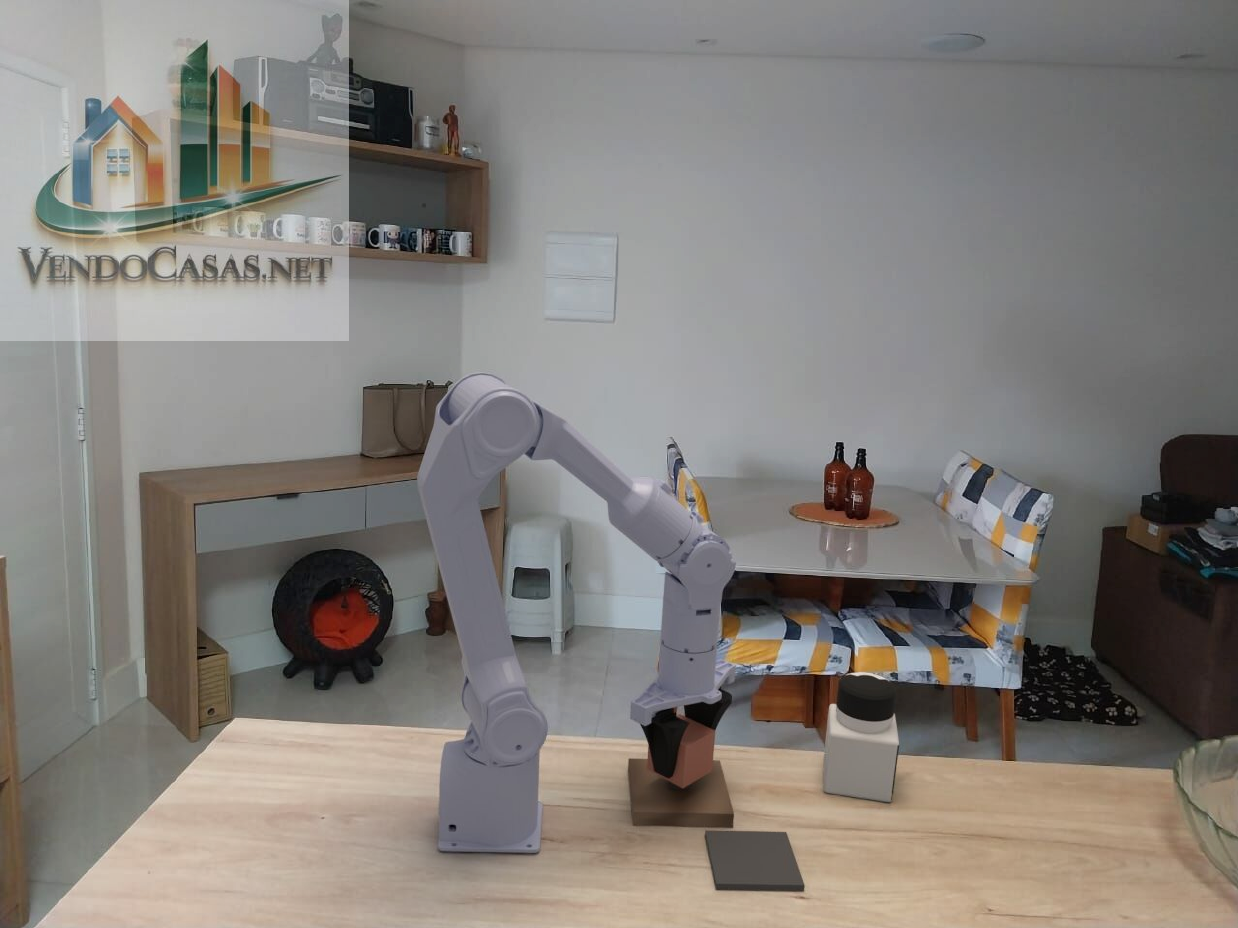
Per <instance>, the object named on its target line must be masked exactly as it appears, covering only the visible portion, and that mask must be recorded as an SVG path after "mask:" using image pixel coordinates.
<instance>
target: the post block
mask: <svg viewBox="0 0 1238 928" xmlns="http://www.w3.org/2000/svg"><path fill="white" fill-rule="evenodd" d="M647 760H648V758H633V757H632V758H631V757H630V758H628V760H627V762H628V764H627V776H628V777H627V778H628V786H629V787H628V788H629V799H630V811H631V820H632V821H631V822H632V826H655V827H656V826H659V827H661V826H662V827H701V828H702V827H703V828H704V827H705V828H707V827H709V828H710V827H711V828H734V821H735V818H734V817H735V811H734V809H733V805H732V800H731V797H730V793H729V790H728V786H727V782H726V778H725V775H724V771H723V768H722V762H721V760H720V759H719V760H717V759H715V760H714V759H713V767H712V771H711V772H710V773H708V774H706V775H705V776H703V777H701V778H700V779H698V780H696V781H695V782H693V783H691V784H689V785H688V786H686V787H684V788H681V787H679V786H677V785H675V784H674V783H672V782H670V781H668V780H666V779H664V778H662V777H660V776H659V775H657V774H655V773H653V772H651V771H649V770H647Z"/></svg>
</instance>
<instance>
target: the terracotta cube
mask: <svg viewBox="0 0 1238 928" xmlns="http://www.w3.org/2000/svg"><path fill="white" fill-rule="evenodd" d="M676 717H678V718H680V719H682V720H685V721H687V722H689V725H688V727H687V728H686V730H685V732H684V734H683V737H682V739H681V742H680V746H679V750H678V756H677V763H676V768H675V771H674V774H673V776H672V777H671V778H666V777H664V776H662V775H660V774H658V773H656V772H655V771H654V768H653V763H652V758H651V753H650V749H649V745H648V744H647V759H648V760H647V770H649V771H651V772H653V773H655V774H657V775H659V776H660V777H662V778H664V779H666V780H668V781H670V782H672V783H674V784H675V785H677V786H679V787H681V788H684V787H686V786H688V785H689V784H691V783H693V782H695V781H696V780H698V779H700V778H701V777H703V776H705V775H706V774H708V773H710V772H711V771H712V767H713V760H714V755H715V754H714V751H715V739H716V730H713V729H711V728H709V727H706V726H704V725H702V724H700V723H698V722H696V721H694V720H691V719H689V718H687V717H685V715H684V714H683V715H682V714H680V713H678V714H676Z"/></svg>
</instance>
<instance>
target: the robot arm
mask: <svg viewBox="0 0 1238 928" xmlns="http://www.w3.org/2000/svg"><path fill="white" fill-rule="evenodd" d="M429 435H430V436H429V439H428V442H427V445H426V449H425V451H424V454H423V456H422V457H423V458H422V459H421V460H422V461H421V462H420V463H421V464H420V467H419V469H418V473H417V476H416V477H417V478H416V479H417V480H416V481H417V482H416V484H417V489H418V492H419V493H418V494H419V496H420V497H419V498H420V501H421V504H422V509H423V512H424V516H425V519H426V523H427V527H428V531H429V536H430V539H431V543H432V546H433V550H434V553H435V558H436V561H437V565H438V569H439V572H440V576H441V581H442V585H443V588H444V592H445V595H446V599H447V602H448V606H449V610H450V614H451V618H452V621H453V625H454V629H455V633H456V637H457V640H458V645H459V647H460V652H461V655H462V658H461V661H460V662H461V667H462V669H463V670H462V671H463V681H462V685H461V690H460V701H461V705H462V707H463V709H464V711H465V712H466V713H467V715H468V717H469V719H470V724H469V726H468V728H467V731H466V732H465V735H464V738H463V739H462V738H461V739H459V740H453V741H452V740H451V741H446V742H445V743H444V745H443V749H442V752H441V753H442V754H441V761H440V770H439V771H440V772H439V788H438V789H439V791H438V795H439V796H438V798H439V799H438V801H439V802H438V811H437V813H438V844H437V849H438V850H439V851H441V852H469V853H470V852H472V853H473V852H475V853H476V852H477V853H479V852H480V853H521V854H522V853H526V854H527V853H528V854H529V853H530V854H531V853H532V854H533V853H534V854H535V853H538V852H539V851H540V850H541V836H542V825H543V824H542V821H543V810H544V809H543V804H544V803H543V802H542V801H540V800H539V787H540V786H539V785H540V783H539V781H540V756H541V755H540V754H541V752H540V751H541V748H542V747H543V746H544V744H545V741H546V739H547V736H548V732H549V731H548V730H549V727H548V726H549V725H548V720H547V716H546V715H545V713H544V711H543V710H542V709H541V707H540V706H539V705H538V704H537V703H536V701H535V700H534V698H533V696H532V695H531V693H530V690H529V687H528V683H527V681H526V678H525V675H524V673H523V671H522V668H521V665H520V662H519V660H518V658H517V654H516V650H515V646H514V641H513V638H512V635H511V629H510V626H509V621H508V617H507V614H506V609H505V605H504V601H503V598H502V594H501V593H502V592H501V590H500V589H501V588H500V585H499V581H498V577H497V573H496V570H495V565H494V562H493V561H494V560H493V556H492V553H491V549H490V545H489V540H488V535H487V532H486V528H485V525H484V524H485V523H484V521H483V516H482V512H481V508H480V503H479V497H480V495H481V493H483V491H484V490H485V488H486V487H487V486H488V484H489V483H490V482H491V480H492V479H493V478H494V477H495V476H496V475H498V474H499V473H500V472H501V471H503V470H505V469H506V468H507V467H508V466H510V465H511V464H513V463H514V462H515V461H517V460H518V459H520V458H521V457H522V456H523V455H525V456H526V457H527V458H528V459H530V460H531V461H546V460H553V461H555V462H556V463H557V464H558V465H560V466H561V467H562V468H564V469H565V470H566V471H567V472H569V474H571V475H572V476H574V477H575V478H576V479H577V480H579V481H581V482H582V484H584V485H585V486H586V487H588V488H589V489H590V490H592V491H593V492H594V493H595V494H597V495H598V496H599V497H600V498H602V499H603V500H605V502H606V504H607V517H608V520H609V524H611V525H612V526H613V527H614V528H616V529H617V531H619V532H620V533H622V535H624V536H625V537H626V538H627V539H629V541H631V542H632V543H634V544H635V545H636V546H637V547H639V549H641V550H642V551H643V552H645V553H646V554H647V555H649V557H650V558H652V559H653V560H654V561H656V562H657V563H658V565H659V566H660V567H661V568H665V570H667V571H666V572H665V573H664V584H663V597H662V611H661V625H660V641H659V654H658V655H659V656H658V657H659V659H658V671H657V672H658V673H657V676H656V677H655V679H653V681H652V682H651V683H650V684H649V685H648V686H647V687H646V688H645V690H644V691H642V693H641V694H640V695H639V696H637V697H636V698H635V699H633V700H631V701H630V712H629V713H630V714H629V719H630V720H632V721H634V722H635V723H637V724H639V725H640V727H641V729H642V731H643V734H644V736H645V739H646V742H647V746H648V745H649V749H650V753H651V758H652V763H653V768H654V771H655V772H656V773H658V774H660V775H662V776H664V777H666V778H671V777H672V776H673V774H674V771H675V768H676V763H677V756H678V750H679V746H680V742H681V739H682V737H683V734H684V732H685V730H686V728H687V727H688V725H689V722H687V721H685V720H682V719H680V718H678V717H676V715H678V714H677V712H674V711H675V708H678V707H683V709H684V716H685V717H687V718H689V719H691V720H694V721H696V722H698V723H700V724H702V725H704V726H706V727H709V728H711V729H713V730H715V731H716V730H717V727H718V726H719V723H720V722H721V720H722V718H723V716H724V714H726V713H725V712H727V710H728V708H729V707H730V706H731V704H732V701H733V695H732V693H730V692H728V691H726V690H724V689H722V685H723V684H724V683H725V684H727V685H731V684H732V683H735V678H736V668H737V665H736V664H734V663H732V662H730V661H727V660H724V659H718V660H717V652H718V643H719V642H718V641H719V630H720V629H719V628H720V617H721V603H722V599H723V591H724V588H725V587H726V586H727V584H728V583H729V582H730V580H731V579H732V577H733V575H734V573H735V570H736V565H737V562H736V561H734V560H733V556H732V555H733V553H732V552H731V551H730V550H731V548H730V545H729V544H728V543H727V541H726V540H724V538H722V537H720V536H719V535H717V534H716V533H715V532H713V531H712V530H710V529H708V528H707V527H706V526H705V525H703V522H704V516H702V515H701V514H700V513H699V512H698V511H696V510H694V509H693V510H691V511H689V510H688V509H687V508H686V507H685V506H683V505H682V504H681V503H680V502H679V501H678V500H676V499H675V498H674V496H672V495H671V493H672V491H673V488H672V486H670V485H669V484H668V483H667V482H666V481H664V480H662V479H661V478H657V479H656V480H654V479H653V478H652V477H649V476H644V475H643V476H641V475H640V476H633V477H629V476H628V475H627V474H626V473H625V472H624V471H622V470H621V469H620V468H619V467H618V466H617V465H616V464H615V463H614V462H612V461H611V459H609V458H608V457H607V456H606V455H605V454H604V453H603V452H602V451H600V450H599V448H597V447H596V446H595V445H594V444H593V443H592V442H591V441H590V440H589V439H588V438H587V437H585V435H583V434H582V433H581V432H580V431H579V430H578V429H577V428H575V426H574V425H573V424H571V423H570V422H569V421H568V420H567V419H565V418H563V417H562V416H561V415H560V414H559V415H558V414H557V413H556V412H554V411H552V410H551V409H549V408H547V407H546V406H544V405H542V404H541V403H540V402H537V401H536V400H534V399H533V398H531V397H530V396H528V395H527V394H526V393H524V392H522V391H521V390H519V389H517V388H514V387H512V386H510V385H508V383H506V382H505V381H504V380H503V378H500V377H499V376H497V375H495V374H494V373H489V372H484V371H482V372H481V371H480V372H479V371H478V372H470V373H468V374H466V375H464V376H462V377H460V378H459V379H458V380H457V381H456V382H455V383H454V384H453V385H452V387H450V389H449V390H448V391H447V393H446V394H444V396H443V397H442V399H441V400H440V401H439V402H438V404H437V405H436V407H435V414H434V421H433V427H432V430H431V432H430V434H429Z"/></svg>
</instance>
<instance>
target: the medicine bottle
mask: <svg viewBox="0 0 1238 928" xmlns="http://www.w3.org/2000/svg"><path fill="white" fill-rule="evenodd" d="M897 692H898V691H897V688H896V686H895V684H894V683H893V682H892V681H890V680H889V679H887V678H885V677H884V676H881V675H879V674H876V673H873V672H867V671H865V672H864V671H860V672H859V671H858V672H857V671H856V672H851V673H847V674H844V675H843V676H842V677H841V678H840V679H839V681H838V685H837V694H836V696H837V697H836V703H831V704H830V705H829V707H828V713H827V714H828V715H827V722H826V723H827V724H826V732H825V741H824V752H823V791H824V793H826V794H832V795H839V796H844V797H851V798H857V799H865V800H871V801H876V802H877V801H878V802H884V803H890V802H892V801H893V797H894V789H895V788H894V787H895V781H896V780H895V779H896V775H897V774H896V773H897V765H898V757H899V751H900V740H899V739H900V738H899V733H898V732H899V731H898V726H897V721H896V720H897V718H896V714H895V708H896V700H897ZM824 753H825V754H824Z"/></svg>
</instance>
